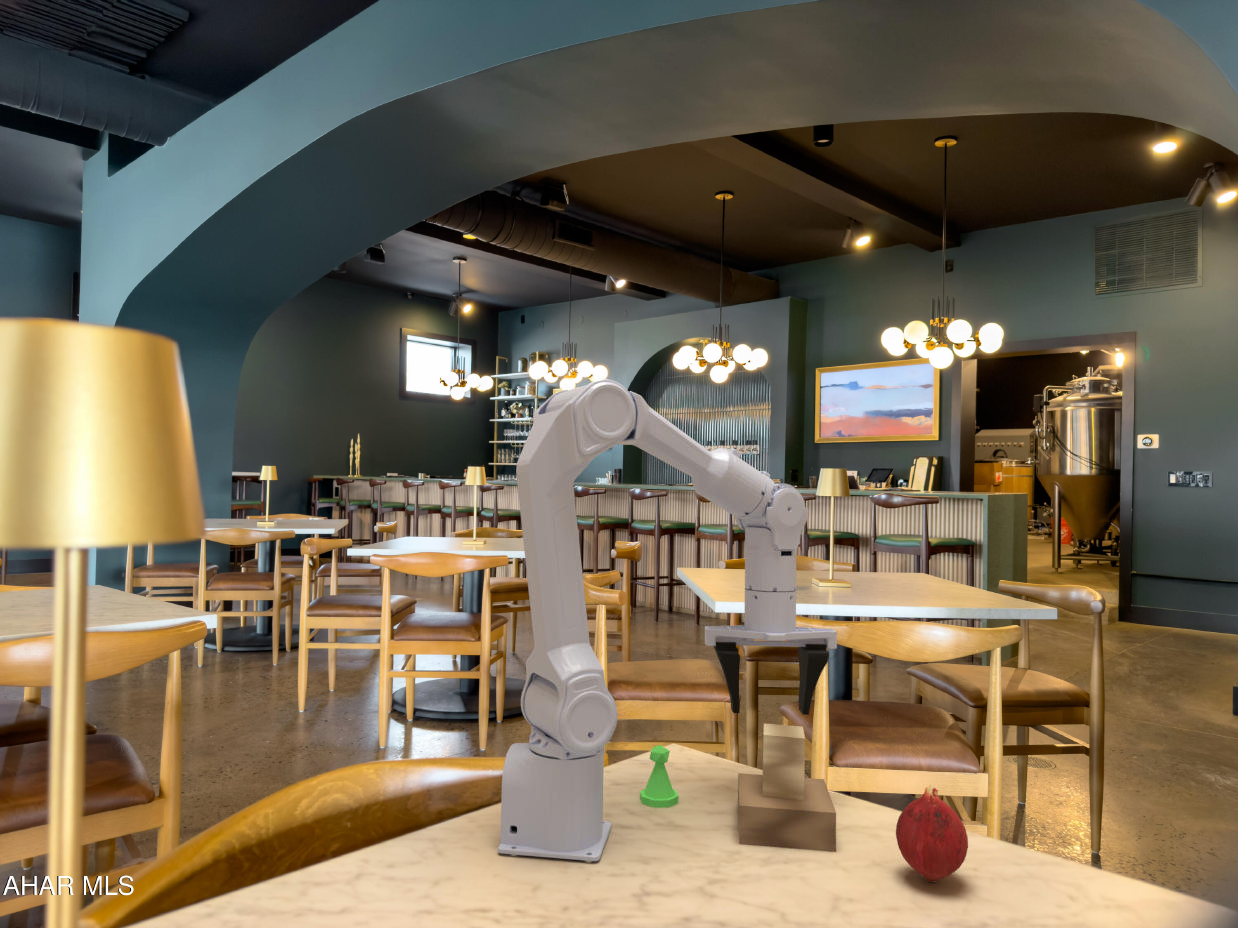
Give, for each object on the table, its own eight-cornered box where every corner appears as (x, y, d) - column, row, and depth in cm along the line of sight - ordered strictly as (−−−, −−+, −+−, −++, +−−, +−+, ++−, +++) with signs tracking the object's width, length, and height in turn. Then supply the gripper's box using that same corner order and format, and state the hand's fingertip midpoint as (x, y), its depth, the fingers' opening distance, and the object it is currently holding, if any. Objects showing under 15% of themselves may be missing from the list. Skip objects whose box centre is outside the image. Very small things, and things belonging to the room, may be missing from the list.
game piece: (634, 804, 82) (635, 748, 82) (645, 790, 86) (645, 737, 86) (673, 810, 81) (674, 752, 81) (682, 795, 85) (683, 740, 85)
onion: (976, 902, 63) (975, 802, 63) (902, 894, 64) (902, 796, 64) (959, 869, 68) (958, 778, 69) (891, 862, 69) (891, 773, 70)
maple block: (762, 795, 75) (763, 734, 76) (762, 781, 79) (763, 723, 80) (803, 800, 75) (805, 738, 75) (801, 785, 78) (802, 726, 79)
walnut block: (739, 847, 73) (739, 805, 73) (737, 810, 82) (738, 772, 82) (835, 856, 71) (836, 812, 72) (823, 817, 80) (824, 778, 81)
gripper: (709, 592, 82) (708, 719, 81) (844, 594, 82) (844, 723, 81) (703, 585, 89) (702, 702, 88) (827, 587, 89) (827, 705, 88)
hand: (769, 711), depth 85 cm, fingers open, 7 cm apart
